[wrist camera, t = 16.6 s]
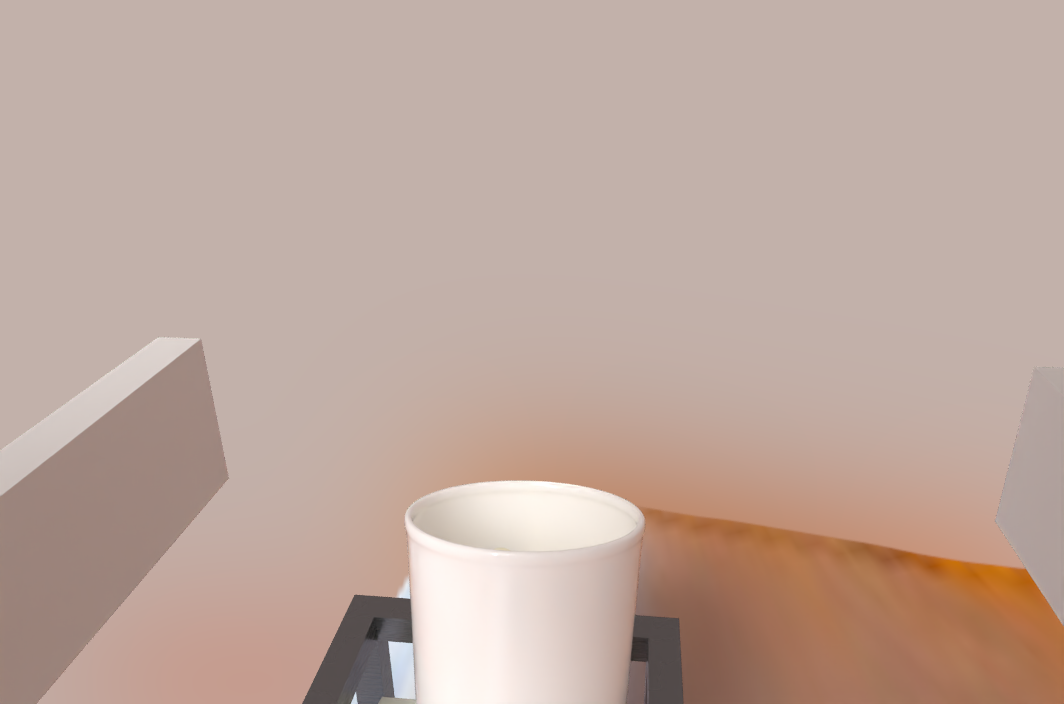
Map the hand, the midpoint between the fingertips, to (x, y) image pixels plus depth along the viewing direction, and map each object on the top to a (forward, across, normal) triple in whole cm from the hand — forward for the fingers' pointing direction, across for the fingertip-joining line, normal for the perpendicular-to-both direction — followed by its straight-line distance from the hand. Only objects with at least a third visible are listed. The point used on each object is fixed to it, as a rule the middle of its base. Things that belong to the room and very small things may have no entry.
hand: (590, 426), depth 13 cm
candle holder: (+12, -4, -25) cm, 28 cm away
